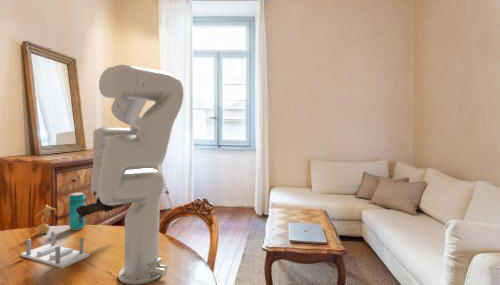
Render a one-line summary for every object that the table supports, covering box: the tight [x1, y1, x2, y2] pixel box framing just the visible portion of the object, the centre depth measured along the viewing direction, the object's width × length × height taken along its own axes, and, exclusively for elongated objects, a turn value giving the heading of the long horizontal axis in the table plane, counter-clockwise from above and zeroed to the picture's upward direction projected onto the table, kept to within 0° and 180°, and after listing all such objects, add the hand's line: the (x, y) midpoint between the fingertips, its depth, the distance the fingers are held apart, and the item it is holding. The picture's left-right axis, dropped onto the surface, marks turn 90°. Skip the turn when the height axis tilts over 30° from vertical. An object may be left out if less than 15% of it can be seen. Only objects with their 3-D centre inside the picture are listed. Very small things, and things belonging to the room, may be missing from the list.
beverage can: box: [68, 191, 86, 231], centre depth 120 cm, size 6×6×15 cm
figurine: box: [33, 204, 58, 235], centre depth 113 cm, size 8×6×12 cm
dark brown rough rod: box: [78, 202, 126, 218], centre depth 106 cm, size 19×4×5 cm, turn 155°
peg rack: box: [20, 231, 90, 269], centre depth 94 cm, size 20×9×6 cm, turn 69°
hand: (104, 209), depth 106 cm, fingers closed on dark brown rough rod, 3 cm apart
